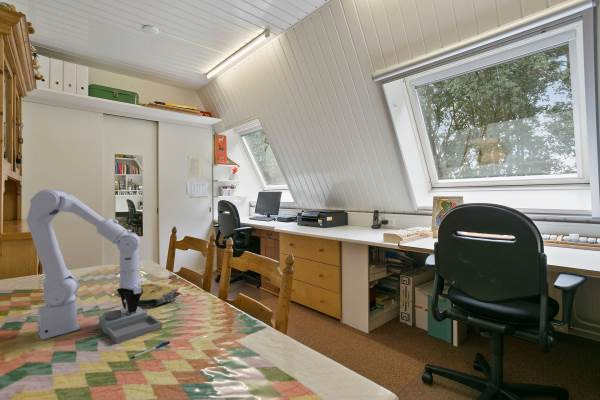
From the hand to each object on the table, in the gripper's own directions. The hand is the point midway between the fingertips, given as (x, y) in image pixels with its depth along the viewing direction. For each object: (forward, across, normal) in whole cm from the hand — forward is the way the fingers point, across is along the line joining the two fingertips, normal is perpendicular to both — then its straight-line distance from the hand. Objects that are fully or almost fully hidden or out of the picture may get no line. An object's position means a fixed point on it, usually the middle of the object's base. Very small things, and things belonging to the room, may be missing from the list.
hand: (130, 310), depth 100 cm
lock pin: (+4, 0, 0) cm, 4 cm away
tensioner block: (+4, 0, +2) cm, 4 cm away
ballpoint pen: (+4, -24, +2) cm, 25 cm away
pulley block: (+4, +19, -13) cm, 24 cm away
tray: (+4, -8, +2) cm, 9 cm away
